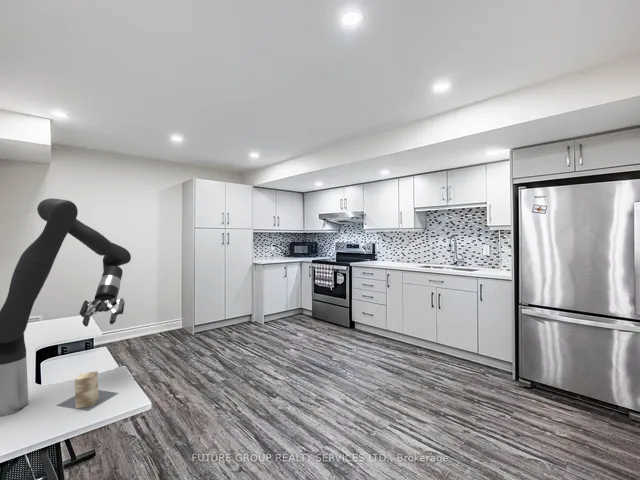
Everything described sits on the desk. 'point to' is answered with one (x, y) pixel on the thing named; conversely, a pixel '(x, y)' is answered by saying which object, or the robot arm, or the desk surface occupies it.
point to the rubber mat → (102, 398)
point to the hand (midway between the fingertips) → (98, 324)
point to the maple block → (86, 389)
